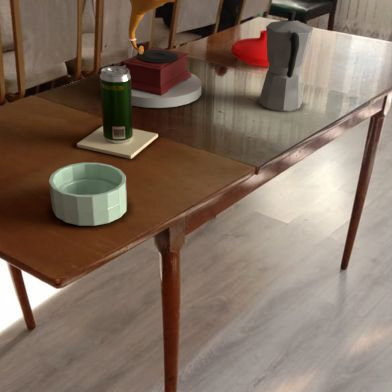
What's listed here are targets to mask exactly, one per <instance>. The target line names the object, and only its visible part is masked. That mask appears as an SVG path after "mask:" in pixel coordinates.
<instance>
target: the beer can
mask: <svg viewBox="0 0 392 392" xmlns="http://www.w3.org/2000/svg"><path fill="white" fill-rule="evenodd" d="M129 73H130V71H129V69H127V68H126V66H118V65H117V66H116V65H113V66H106V67H103V68H101V69H100V75H99V87H100V103H101V118H102V126H103V135H104V138H105V140H106V141H107V142H109V143H112V144H124V143H127V142H129V141H130V140H131V138H132V136H133V129H134V128H133V127H134V126H133V105H132V91H131V76H130V74H129Z"/></svg>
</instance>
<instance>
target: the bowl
mask: <svg viewBox="0 0 392 392" xmlns="http://www.w3.org/2000/svg"><path fill="white" fill-rule="evenodd" d="M48 185H49V193H50V201H51V208H52V212H53V213H54V215H55V217H56V218H58V219H59V220H61V221H63V222H64V223H66V224H70V225H75V226H86V227H87V226H90V227H91V226H92V227H94V226H101V225H105V224H110V223H111V222H114V221H116V220H118V219H120V218H122V216H124V214H125V213H126V212H127V210H128V209H127V208H128V195H127V194H128V193H127V176H126V174H125V173H124V171H122V170H121V169H120V168H118V167H116V166H114V165H111V164H107V163H101V162H78V163H72V164H68V165H66V166H62V167H60V168H58V169H56V170H55V171H54V172H53V173H51V175H50V177H49V180H48Z"/></svg>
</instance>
